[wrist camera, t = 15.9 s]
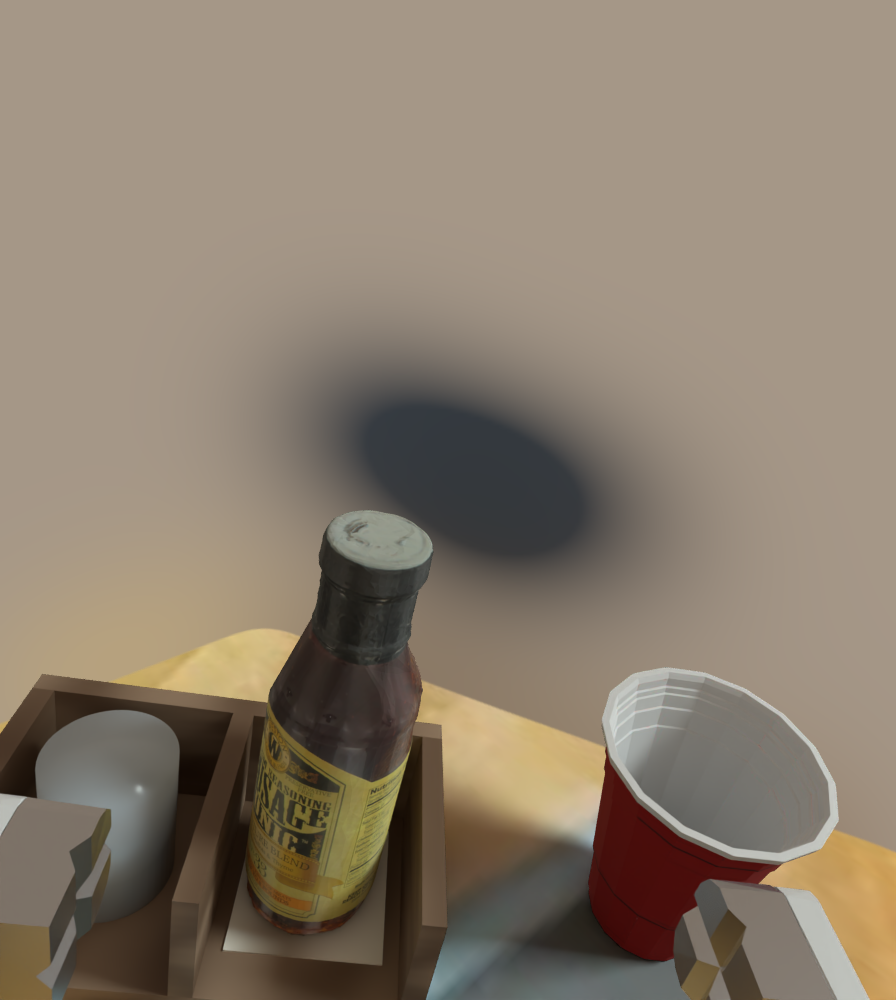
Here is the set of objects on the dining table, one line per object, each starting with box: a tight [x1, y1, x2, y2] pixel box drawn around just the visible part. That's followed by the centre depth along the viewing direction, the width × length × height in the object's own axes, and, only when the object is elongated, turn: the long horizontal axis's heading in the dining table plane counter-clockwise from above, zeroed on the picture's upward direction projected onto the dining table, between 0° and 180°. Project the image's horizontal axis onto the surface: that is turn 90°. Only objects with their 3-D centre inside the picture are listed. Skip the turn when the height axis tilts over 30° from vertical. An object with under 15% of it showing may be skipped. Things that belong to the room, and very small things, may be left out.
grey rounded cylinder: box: [35, 710, 180, 923], centre depth 33 cm, size 6×6×7 cm
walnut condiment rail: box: [0, 674, 448, 1000], centre depth 34 cm, size 20×11×7 cm, turn 91°
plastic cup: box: [588, 667, 839, 961], centre depth 37 cm, size 11×11×12 cm
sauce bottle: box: [245, 510, 433, 936], centre depth 31 cm, size 7×6×20 cm
